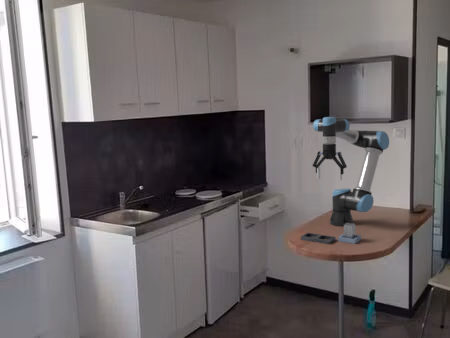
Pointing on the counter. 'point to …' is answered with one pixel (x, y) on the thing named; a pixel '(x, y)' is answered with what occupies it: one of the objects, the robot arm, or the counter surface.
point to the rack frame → (318, 238)
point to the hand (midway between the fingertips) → (329, 179)
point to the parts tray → (348, 240)
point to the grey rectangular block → (349, 230)
